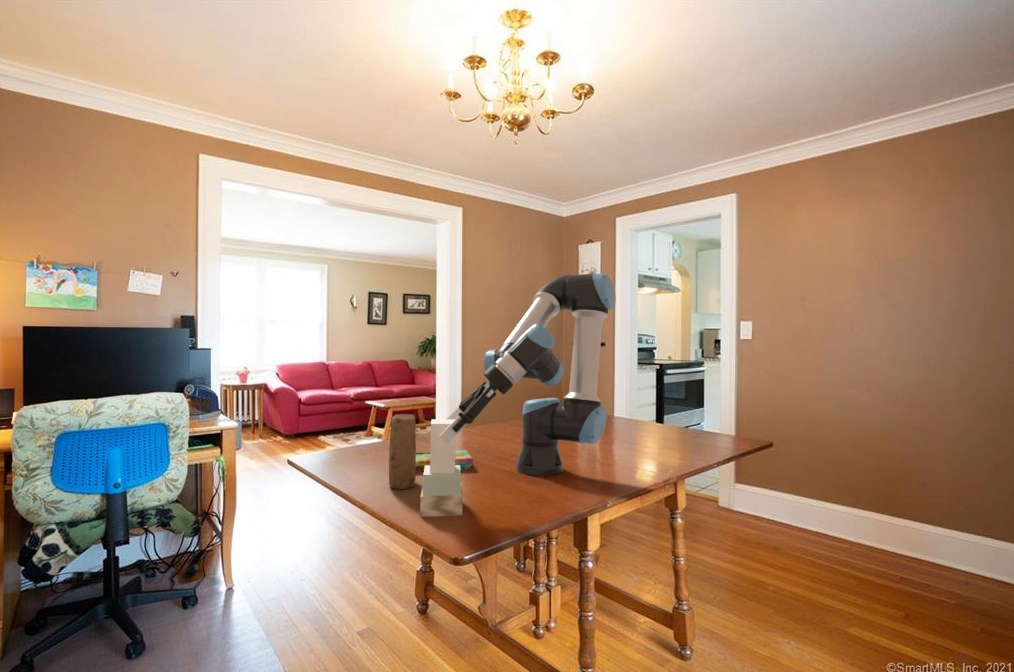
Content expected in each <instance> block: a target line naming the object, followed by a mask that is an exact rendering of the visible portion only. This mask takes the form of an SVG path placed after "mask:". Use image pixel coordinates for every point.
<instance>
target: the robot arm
mask: <svg viewBox="0 0 1014 672" xmlns="http://www.w3.org/2000/svg"><path fill="white" fill-rule="evenodd" d="M615 305H616V290H615V286H614V282H613V280H612V278H611V277H610V275H608V274H606V273H596V272H593V273H582V274H564V275H561V276H558V277H556V278H554V279H552V280H550V281H548V282H547V283H546V284H545V285H543V286H542V287H541V288H540V289H539V290H538V291H537V292H536V294H535V295H534V296H533V298H532V304H531V306H530V307H529V308H528V309H527V311H526V312H525V314H524V315H523V316H522V318H521V319H520V321H519V322H518V323H517V325H516V326H515V327H514V329H513V330H512V331H511V333H510V334H509V336H508V337H507V338H506V340H504V343H502V345H501V346H500V348H499V349H496V348H495V349H490V350H488V351H487V352H485V355H484V357H483V368H484V372H483V376H484V378H486V380H488V381H487V382H486V381H483V382H482V384H480V385H479V386H478V387H477V388H476V389H475V390H474V391H472V393H470V394H469V395H468V396H467V397H466V398H465V399H464V400H462V401H461V402H460V403H459V405H458V407H457V408H455V409H454V410H453V412H451V413H450V415H448V416H447V417H446V418H445V419H455V421H454V422H453V423H452V424H451V425H450V426H449V427H448V428H447V429H446V430H445V431H444V432H443V433H442V434H441V435H440V437H441V438H442V439H443V440H444V441H445V442H446V443H447V444H448V443H449V442H450V441H451V440H452V439H453V438H454V437H455V436H456V437H457V436H458V434H459V433H461V431H462V430H463V429H464V428H465V427H466V426H467V425H469V424H472V423H473V422H474V421H475V419H476V418H477V417H478V416H479V414H480V413H481V412H482V411H483V410H484V409H485V408H486V406H488V404H489V403H490V401H492V400H493V398H495V397H496V396H497V393H496V391H497V390H498V391H499V392H500V393H501V395H505V394H506V393H507V392H509V390H510V389H512V388H513V386H514V383H516V384H517V382H519V381H520V380H521V379H528V380H529V379H530V380H531V379H532V380H538V381H539V382H540V383H541V384H543V385H545V386H548V387H549V386H554V385H557V384H558V383H559V382H561V380H562V379H563V376H564V372H565V371H564V367H563V365H562V363H561V361H560V359H559V358H558V357H557V356H556V355H555V353H554V352H553V350H552V348H553V347H554V345H555V344H556V339H555V337H554V336H553V334H552V333H551V332H549V330H548V329H547V328H546V327H547V325H548V324H549V323H550V320H552V318H554V317H556V316H558V314H560V312H562V311H571V312H570V313H571V316H573V318H574V319H575V321H574V322H575V323H574V333H573V346H572V353H571V354H572V355H571V356H572V357H571V365H570V366H571V368H570V378H569V390H568V393H567V394H566V395H565V396H564V397H563V403H561V402H560V399H559V398H558V397H548V398H547V397H546V398H543V397H542V398H536V399H530V400H529V399H528V400H526V401H525V402H524V403H523V407H522V415H521V416H522V432H521V433H522V434H521V435H522V437H521V438H522V439H521V440H522V442H521V445H522V446H521V449H520V451H519V454H518V458H517V460H516V471H518V472H519V473H521V474H525V475H528V476H529V475H530V476H537V477H545V476H546V477H547V476H548V475H549V476H555V474H556V475H559V474H558V473H560V472H562V471H563V472H564V462H563V460H562V459H563V458H562V456H561V453H560V449H559V441H561V442H562V441H563V442H568V443H569V442H570V443H576V444H581V445H594V444H596V443H598V442H599V441H600V440H601V438H602V437H603V435H604V432H605V428H606V424H607V419H608V417H607V410H606V408H605V407H603V406H602V404H601V403H602V401H601V399H600V398H599V397H598V395H597V394H598V381H599V368H600V357H601V356H600V355H601V343H602V333H603V332H602V331H603V321H604V320H605V319H607V317H608V315H609V311H612V310H613V309H614V308H615ZM563 472H562V473H563ZM560 474H561V473H560Z"/></svg>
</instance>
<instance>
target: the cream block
mask: <svg viewBox="0 0 1014 672" xmlns="http://www.w3.org/2000/svg"><path fill="white" fill-rule="evenodd" d="M454 421H455V419H446V418H445V419H442V418H441V419H440V418H439V419H435V418H433V419H431V422H430V447H429V448H430V451H429V452H430V473H455V451H456V438H457V435H456V436H455V437H454V438H453V439H452V440H451V441H450V442H449V443H448V444H447V443H446V442H445V441H444V440H443V439H442V438H441V437H440V435H441V434H442V433H443V432H444V431H445V430H446V429H447V428H448V427H449V426H450V425H451V424H452V423H453V422H454Z"/></svg>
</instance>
